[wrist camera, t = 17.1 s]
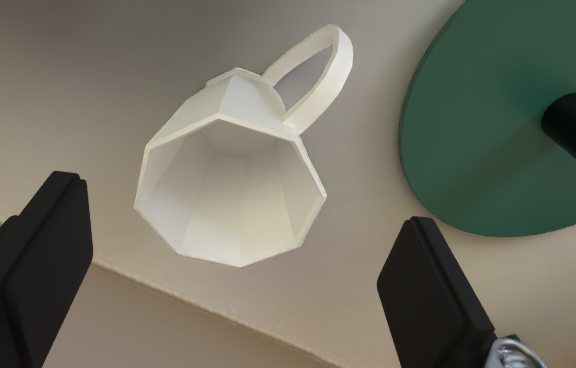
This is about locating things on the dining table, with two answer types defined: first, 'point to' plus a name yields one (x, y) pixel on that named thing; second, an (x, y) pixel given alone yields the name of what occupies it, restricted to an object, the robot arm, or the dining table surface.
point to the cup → (241, 162)
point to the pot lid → (496, 119)
